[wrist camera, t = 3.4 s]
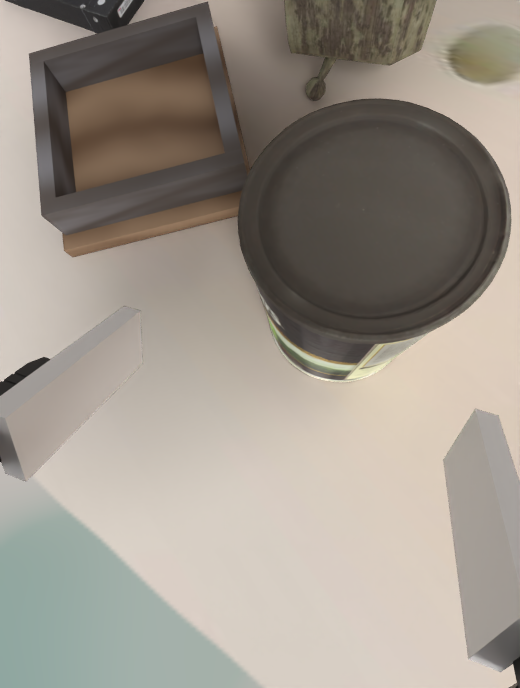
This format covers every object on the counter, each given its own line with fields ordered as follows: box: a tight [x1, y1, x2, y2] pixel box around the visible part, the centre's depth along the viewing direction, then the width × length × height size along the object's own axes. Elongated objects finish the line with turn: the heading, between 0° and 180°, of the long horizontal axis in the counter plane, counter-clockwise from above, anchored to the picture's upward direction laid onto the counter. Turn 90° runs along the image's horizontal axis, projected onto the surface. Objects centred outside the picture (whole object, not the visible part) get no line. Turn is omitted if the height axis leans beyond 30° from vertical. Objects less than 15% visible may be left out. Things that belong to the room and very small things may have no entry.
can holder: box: [29, 2, 250, 257], centre depth 32 cm, size 18×16×4 cm
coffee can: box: [238, 99, 511, 382], centre depth 22 cm, size 10×10×14 cm
